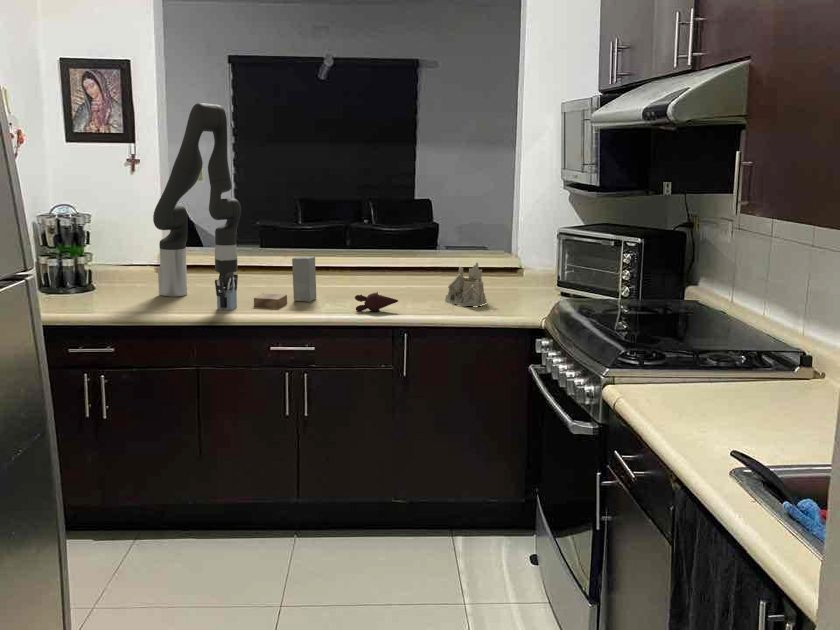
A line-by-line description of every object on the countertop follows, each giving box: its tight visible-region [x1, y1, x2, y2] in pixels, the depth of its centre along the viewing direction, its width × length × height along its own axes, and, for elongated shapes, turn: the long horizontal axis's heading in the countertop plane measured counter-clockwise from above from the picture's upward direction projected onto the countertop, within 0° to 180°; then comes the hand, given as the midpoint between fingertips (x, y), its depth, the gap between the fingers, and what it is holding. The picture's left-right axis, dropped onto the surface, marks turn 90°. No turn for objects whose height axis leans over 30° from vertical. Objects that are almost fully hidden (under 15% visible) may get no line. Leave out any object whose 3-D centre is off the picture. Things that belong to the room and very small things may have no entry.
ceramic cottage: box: [444, 262, 487, 307], centre depth 319 cm, size 16×16×15 cm
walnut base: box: [253, 292, 288, 309], centre depth 307 cm, size 9×9×4 cm
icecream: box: [354, 291, 399, 313], centre depth 301 cm, size 7×7×15 cm
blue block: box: [216, 290, 238, 311], centre depth 299 cm, size 5×5×6 cm
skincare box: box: [291, 255, 317, 303], centre depth 316 cm, size 8×7×16 cm
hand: (227, 306), depth 300 cm, fingers open, 5 cm apart
